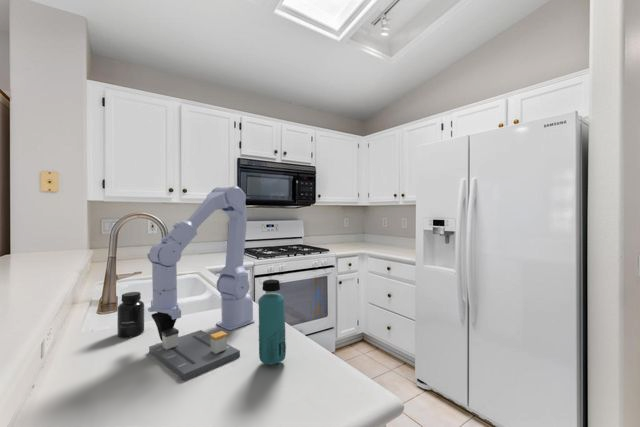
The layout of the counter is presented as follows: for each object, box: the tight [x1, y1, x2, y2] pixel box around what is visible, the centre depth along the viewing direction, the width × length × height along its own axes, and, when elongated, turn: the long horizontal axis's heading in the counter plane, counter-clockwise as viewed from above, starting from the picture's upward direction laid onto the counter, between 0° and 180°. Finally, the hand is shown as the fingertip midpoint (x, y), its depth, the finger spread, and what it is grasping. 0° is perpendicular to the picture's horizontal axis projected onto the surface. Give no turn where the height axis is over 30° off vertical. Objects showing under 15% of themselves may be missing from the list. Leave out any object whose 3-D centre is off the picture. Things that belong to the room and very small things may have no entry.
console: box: [148, 329, 241, 382], centre depth 77 cm, size 14×20×2 cm
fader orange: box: [209, 330, 228, 354], centre depth 75 cm, size 3×3×4 cm
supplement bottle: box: [116, 291, 145, 339], centre depth 90 cm, size 7×7×12 cm
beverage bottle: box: [257, 279, 287, 365], centre depth 72 cm, size 6×7×20 cm
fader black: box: [161, 327, 180, 350], centre depth 78 cm, size 3×3×4 cm
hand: (165, 339), depth 80 cm, fingers closed
